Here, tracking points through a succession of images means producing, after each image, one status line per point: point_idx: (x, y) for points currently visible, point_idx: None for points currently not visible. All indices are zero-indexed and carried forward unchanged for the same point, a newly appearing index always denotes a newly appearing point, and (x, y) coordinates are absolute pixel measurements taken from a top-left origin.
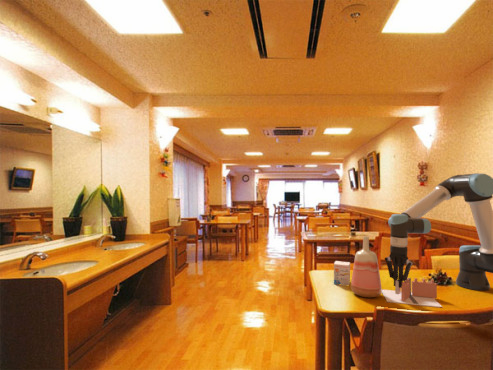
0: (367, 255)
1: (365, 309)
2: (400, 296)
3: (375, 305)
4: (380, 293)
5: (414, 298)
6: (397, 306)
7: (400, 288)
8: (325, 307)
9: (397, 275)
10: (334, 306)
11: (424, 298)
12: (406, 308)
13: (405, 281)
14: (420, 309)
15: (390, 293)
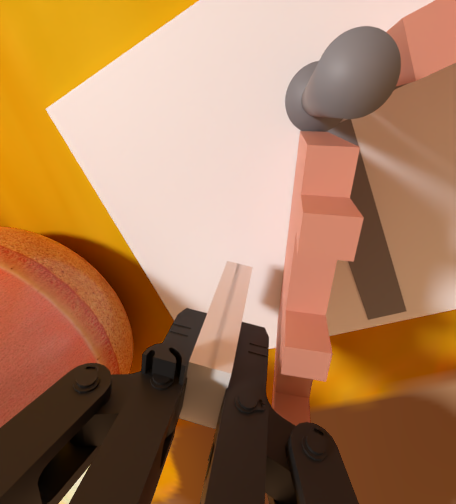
0: None
1: (164, 476)
2: (248, 209)
3: (175, 427)
4: (131, 345)
5: (374, 182)
6: (271, 396)
7: (246, 297)
8: (62, 499)
9: (160, 454)
10: (73, 485)
11: None
12: (323, 402)
13: (303, 369)
14: (411, 382)
15: (157, 182)
